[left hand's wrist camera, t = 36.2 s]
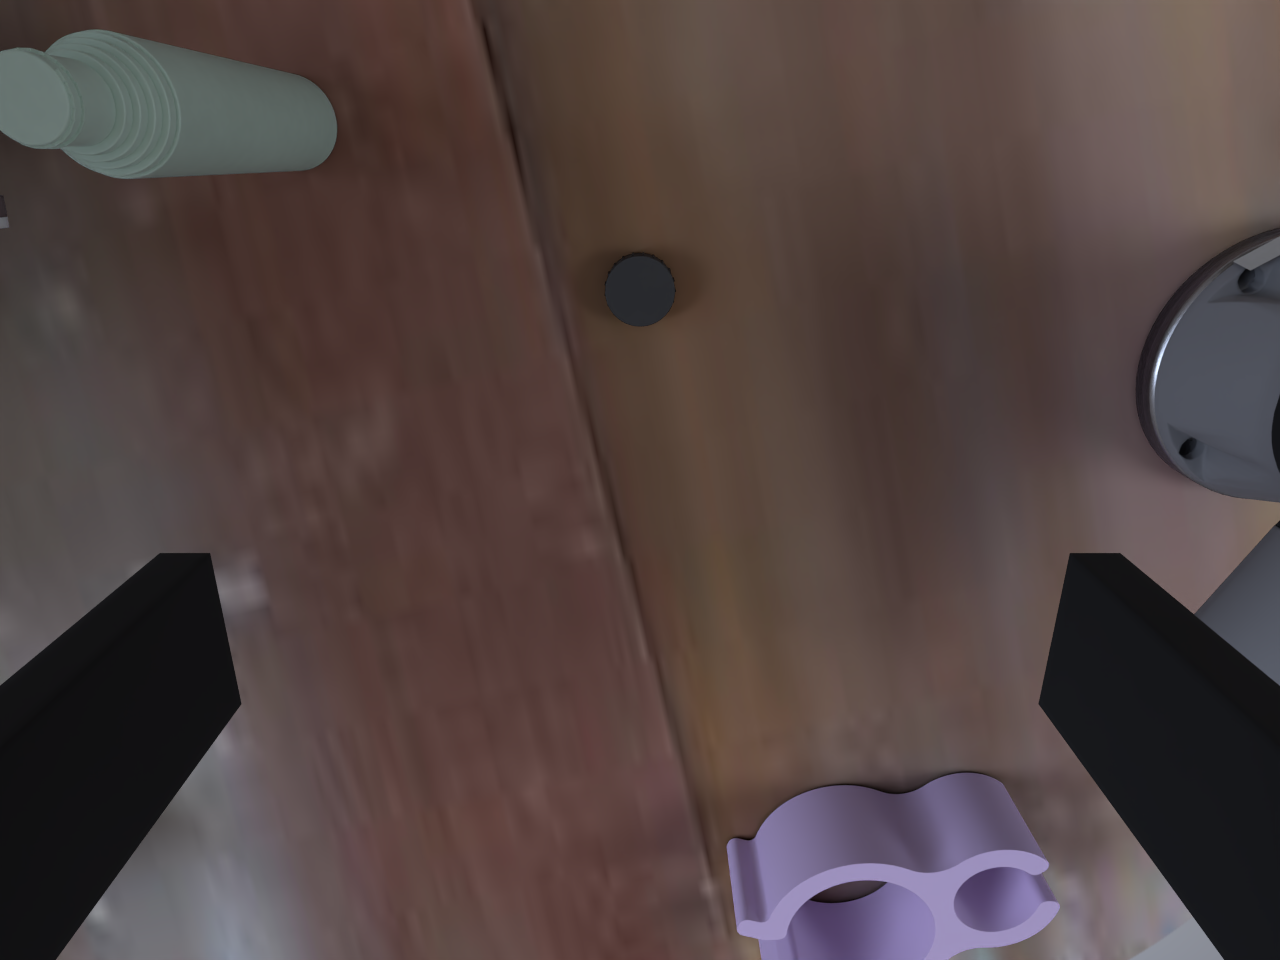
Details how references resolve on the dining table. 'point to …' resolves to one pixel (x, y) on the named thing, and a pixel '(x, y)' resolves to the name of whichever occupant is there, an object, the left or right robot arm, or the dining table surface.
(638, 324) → the cap
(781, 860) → the clip
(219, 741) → the dining table surface
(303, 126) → the bottle
